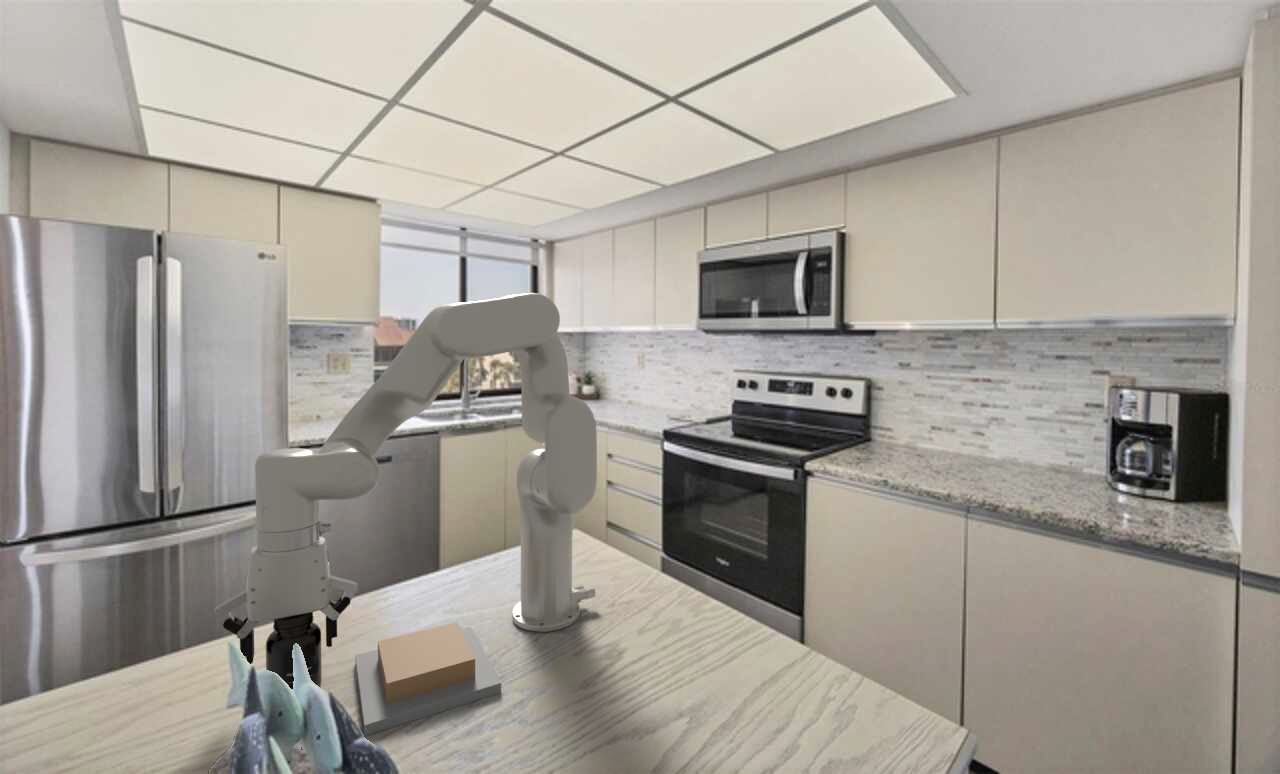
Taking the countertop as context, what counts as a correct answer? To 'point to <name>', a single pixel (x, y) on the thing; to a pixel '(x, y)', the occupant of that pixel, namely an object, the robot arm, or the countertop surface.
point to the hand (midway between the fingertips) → (290, 651)
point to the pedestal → (422, 676)
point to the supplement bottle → (282, 645)
